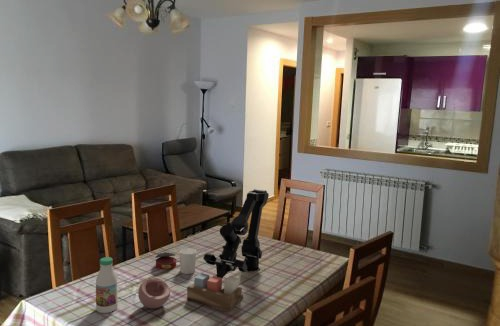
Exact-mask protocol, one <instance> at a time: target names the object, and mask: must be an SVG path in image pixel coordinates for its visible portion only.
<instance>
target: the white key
mask: <svg viewBox="0 0 500 326" xmlns="http://www.w3.org/2000/svg"><path fill="white" fill-rule="evenodd" d="M239 280H240V278H239V277H236V276H231V275H230V276H228V277H227V278H226V279H224V280H223V281H224V282H223V288H224V294H228V295H231V294H232V293H233V292H234V291H235V290H236V289H237V288H239Z"/></svg>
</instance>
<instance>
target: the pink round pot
mask: <svg viewBox="0 0 500 326" xmlns="http://www.w3.org/2000/svg"><path fill="white" fill-rule="evenodd" d="M137 292H138V294H137V295H138V300H139V302H140V303H141V304H142V306H144V307H145V308H148V309H159V308H161V307H162V306H163V305H165V304H166V303H167V302H168V300H169V298H170V296H171V289H170V287H169V285H168V284H167V282H165V281H164V280H163V279H161V278H158V277H148V278H145V279H144V280H143V281H142V283H141V284H140V285H139V288H138V291H137ZM163 307H164V306H163Z"/></svg>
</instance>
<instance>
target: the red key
mask: <svg viewBox="0 0 500 326" xmlns="http://www.w3.org/2000/svg"><path fill="white" fill-rule="evenodd" d="M207 289H209V290H213V291H217V292H220V291H221V290H222V289H223V278H220V277H217V275H216V276H215V275H213V276H211V277H209V280H207Z"/></svg>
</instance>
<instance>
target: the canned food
mask: <svg viewBox="0 0 500 326" xmlns="http://www.w3.org/2000/svg"><path fill="white" fill-rule="evenodd" d="M175 256H176V254H175V253H172V252H160V253H158V254H157V255H156V256H155V258H156V259H155V268H156V269H158V270H163V271H165V270H166V271H167V270H172V269H175V268H176V266H177V259H176V258H175Z"/></svg>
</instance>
